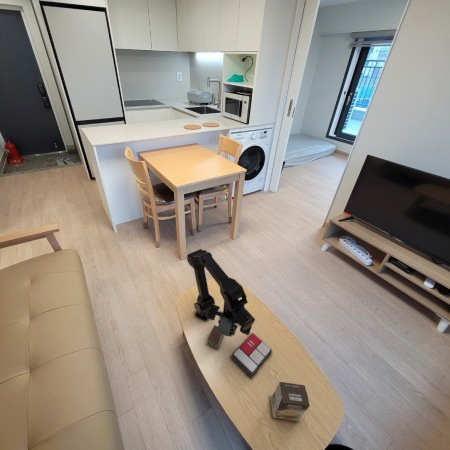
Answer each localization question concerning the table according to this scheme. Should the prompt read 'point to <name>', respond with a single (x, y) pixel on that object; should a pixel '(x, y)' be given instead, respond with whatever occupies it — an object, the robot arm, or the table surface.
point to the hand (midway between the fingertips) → (227, 329)
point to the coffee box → (289, 401)
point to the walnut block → (214, 338)
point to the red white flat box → (251, 354)
